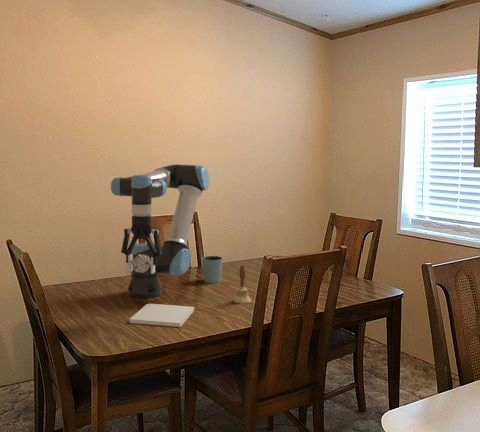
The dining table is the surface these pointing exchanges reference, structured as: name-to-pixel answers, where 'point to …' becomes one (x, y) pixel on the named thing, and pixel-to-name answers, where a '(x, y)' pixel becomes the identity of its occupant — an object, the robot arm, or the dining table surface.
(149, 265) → the game die
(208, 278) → the blue cup
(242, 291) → the hand bell
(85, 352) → the dining table surface
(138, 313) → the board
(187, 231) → the robot arm
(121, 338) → the dining table surface
